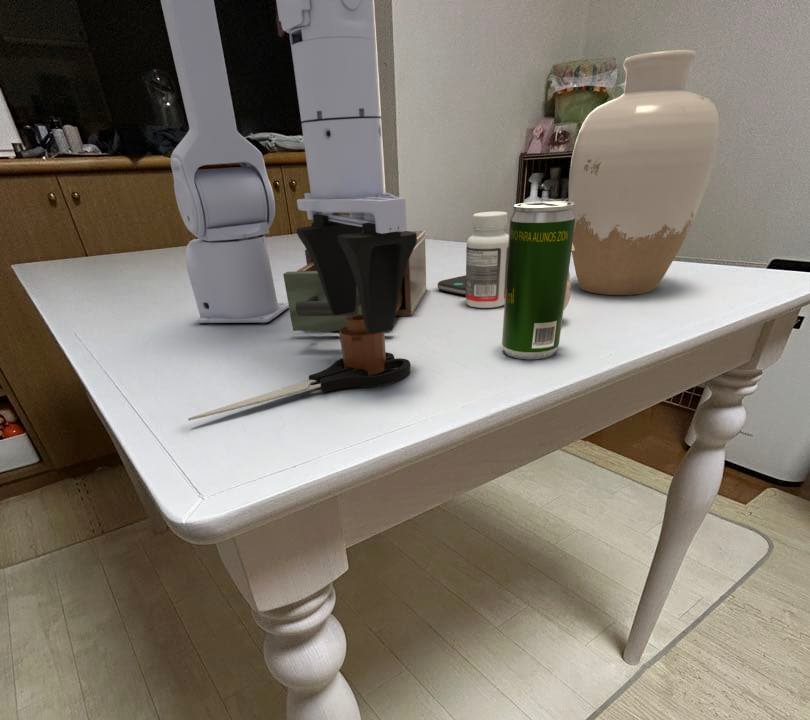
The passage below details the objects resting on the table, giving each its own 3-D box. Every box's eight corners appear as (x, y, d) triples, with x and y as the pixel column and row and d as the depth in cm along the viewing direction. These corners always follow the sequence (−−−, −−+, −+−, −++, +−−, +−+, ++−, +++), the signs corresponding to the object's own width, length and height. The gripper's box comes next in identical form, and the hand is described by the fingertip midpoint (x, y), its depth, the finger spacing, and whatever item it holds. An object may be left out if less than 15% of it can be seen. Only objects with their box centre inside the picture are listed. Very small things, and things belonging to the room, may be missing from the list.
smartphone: (432, 282, 72) (507, 265, 79) (432, 288, 73) (507, 272, 80) (469, 289, 67) (546, 271, 74) (469, 297, 68) (545, 278, 75)
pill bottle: (485, 296, 68) (489, 209, 62) (516, 302, 65) (523, 211, 59) (456, 304, 66) (457, 214, 60) (487, 311, 62) (491, 216, 56)
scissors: (207, 441, 37) (422, 372, 46) (204, 430, 36) (422, 363, 46) (177, 414, 41) (379, 356, 50) (174, 403, 41) (378, 347, 50)
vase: (690, 279, 70) (751, 51, 56) (668, 306, 60) (736, 35, 46) (576, 272, 77) (605, 68, 63) (538, 295, 67) (563, 58, 53)
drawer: (383, 344, 51) (378, 281, 48) (277, 344, 53) (265, 283, 49) (410, 302, 64) (408, 250, 61) (325, 303, 66) (318, 253, 63)
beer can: (569, 353, 49) (592, 203, 41) (523, 364, 47) (537, 209, 40) (534, 339, 52) (549, 199, 45) (490, 349, 51) (498, 205, 43)
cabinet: (411, 316, 62) (408, 246, 58) (314, 316, 64) (304, 249, 60) (426, 290, 73) (425, 230, 68) (342, 292, 75) (335, 233, 70)
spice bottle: (340, 375, 46) (333, 323, 43) (350, 361, 49) (345, 311, 46) (381, 376, 45) (377, 323, 43) (389, 361, 48) (386, 311, 46)
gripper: (258, 129, 40) (290, 312, 48) (327, 115, 30) (353, 351, 38) (340, 125, 43) (357, 300, 51) (430, 111, 32) (433, 333, 41)
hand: (360, 321), depth 45 cm, fingers open, 7 cm apart
